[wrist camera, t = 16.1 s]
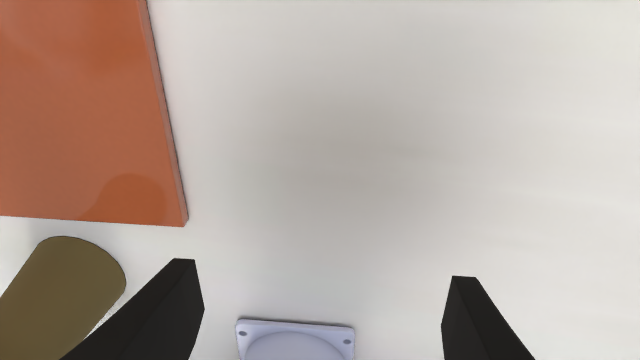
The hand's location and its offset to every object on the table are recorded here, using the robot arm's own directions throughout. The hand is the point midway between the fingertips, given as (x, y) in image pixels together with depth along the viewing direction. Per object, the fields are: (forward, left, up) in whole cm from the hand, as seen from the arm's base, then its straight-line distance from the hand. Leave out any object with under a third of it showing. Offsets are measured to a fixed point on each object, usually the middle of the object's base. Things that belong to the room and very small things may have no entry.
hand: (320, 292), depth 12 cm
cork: (-11, +17, -11) cm, 22 cm away
